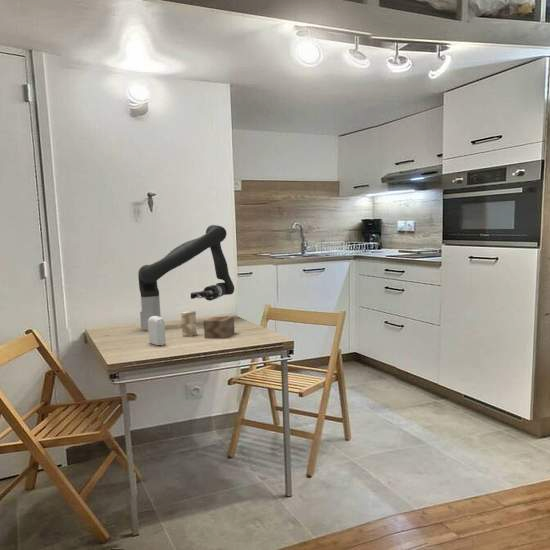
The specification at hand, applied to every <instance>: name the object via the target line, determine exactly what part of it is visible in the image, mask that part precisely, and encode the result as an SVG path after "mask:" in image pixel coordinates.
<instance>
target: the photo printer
mask: <svg viewBox="0 0 550 550" xmlns="http://www.w3.org/2000/svg"><path fill="white" fill-rule="evenodd" d="M148 342H149V344H152V345H155V346H159V345H161V346H165V345H166V344H167V343H166V342H167V340H166V327H165V321H164V319H163V318H162V316H161V317H159V316H152V317H150V318H149V319H148ZM164 344H165V345H164Z"/></svg>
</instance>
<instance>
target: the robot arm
mask: <svg viewBox="0 0 550 550" xmlns="http://www.w3.org/2000/svg"><path fill="white" fill-rule="evenodd" d="M227 235H228V234H227V230H226V228H225V227H223V226H220V225H217V224H216V225H215V224H211V225H209V226H208V227H207V228H206V230H205V234H203V235H201V236H199V237H197V238H194V239H191V240H189V241H186V242H184V243H182V244H180V245H178V246H176V247H175V248H173V249H172V250H170V252H169V253H167V255H165V256H164V257H163V258H161V259H159V260H157V261H155V262H153V263H151V264H145V265H142V266H141V267H140V268H139V270H138V272H137V273H138V274H137V275H138V287H139V293H140V305H141V310H140V312H139V313H140V314H139V315H140V330H141V331H148V319H149V318H150V317H152V316H159V317H161V318H162V316H161V314H162V313H161V302H160V301H161V300H160V298H161V297H160V290H159V288H158V287H159V286H158V281H159V279H161V278H163V276H165V275H166V274H167V273H169V272H171V271H173V270H174V269H177V268H178V267H180V266H182V265H184V264H186V263H188V262H189V261H190V260H192V259H194V258H195V257H197V256H198V255H200V254H202V253H203V252H204V251H206V250H207V249H210V252H211V255H212V260H213V263H214V264H213V265H214V270H215V276H216V278H217V280H221V281H224V282H218V283H216V284H211V285H208V286H206V287H204V288H203V290H201V291H195V292H190V299H191V300H194V299H205V300H207V301H209V302H211V301H213V300H216V299H219V298H222V296H228V295H230V296H231V295H233V294H234V292H235V285H234V282H233V281H232V279H231V276H230V274H229V273H230V272H229V267H228V263H227V260H226V258H225V255H224V252H223V250H222V246H221V245H222V244H221V242H223V241H225V239H226V237H227Z"/></svg>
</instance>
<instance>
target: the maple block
mask: <svg viewBox="0 0 550 550" xmlns="http://www.w3.org/2000/svg"><path fill="white" fill-rule="evenodd" d="M196 315H197V313H196V311H189V310H188V311H183V312H180V316H181V318H180V319H181V334H182V337H194V336H196V335H198V334H197V333H198V332H197V316H196ZM195 334H196V335H195ZM193 335H194V336H193Z"/></svg>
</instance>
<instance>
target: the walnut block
mask: <svg viewBox="0 0 550 550" xmlns="http://www.w3.org/2000/svg"><path fill="white" fill-rule="evenodd" d="M203 331H204V332H203V334H204V335H203V336H204V339H226V338H228V337H230V336H232V335H233V333H234V334H235V318H234V316H212V317H209V318H207V319H205V320H203ZM231 334H232V335H231ZM229 335H230V336H229Z"/></svg>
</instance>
